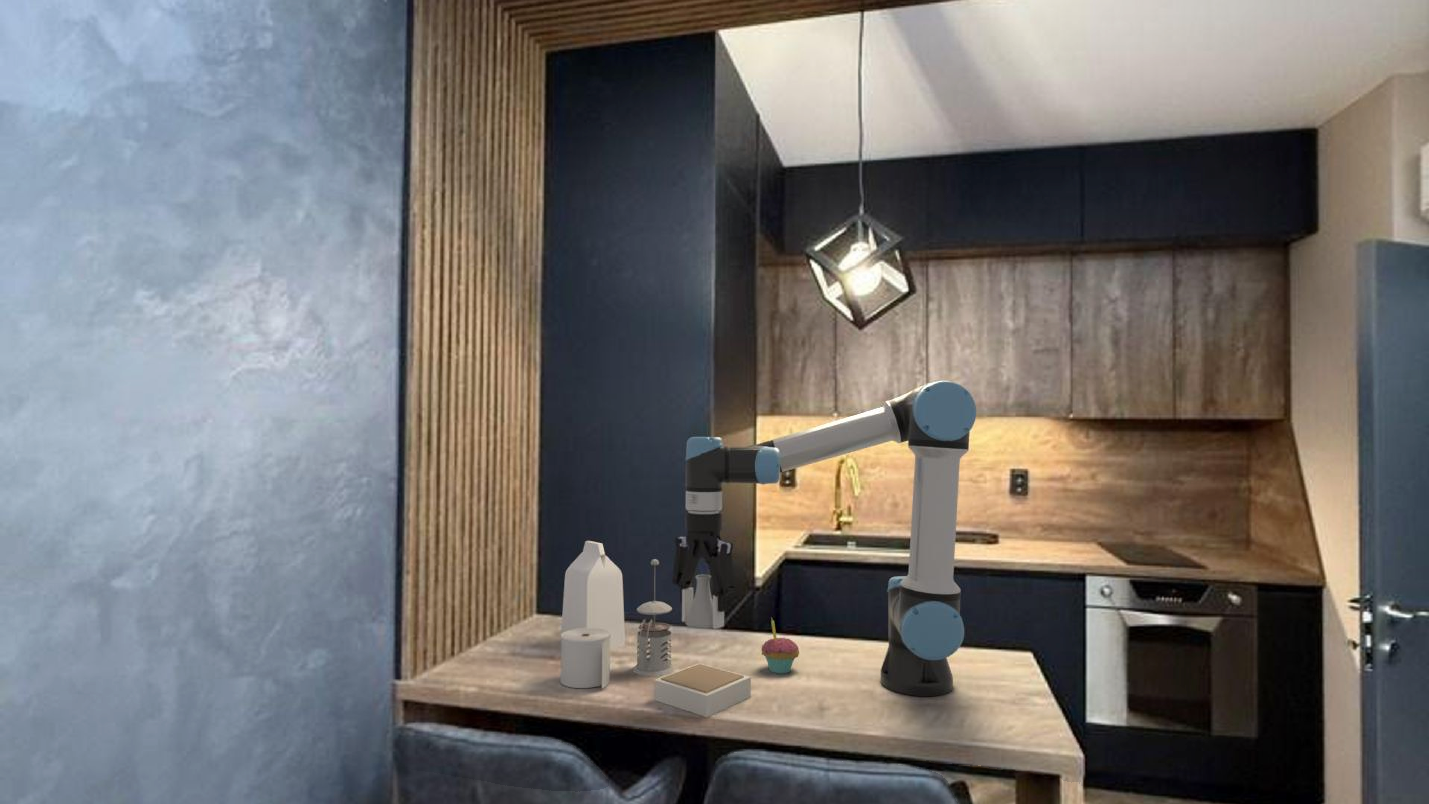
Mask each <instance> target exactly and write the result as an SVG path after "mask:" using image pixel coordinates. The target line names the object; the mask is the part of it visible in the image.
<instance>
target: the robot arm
mask: <svg viewBox="0 0 1429 804" xmlns="http://www.w3.org/2000/svg"><path fill="white" fill-rule="evenodd" d="M975 402H976V401H975V400H974V398H973V396H972V395H971V393H970V392H969V391H968V390H967V389H966V388H965V387H964V386H962V385H961V384H958V383H956V382H953V381H948V380H934V381H930V382H928V383H925V384H924V385H920V386H918V387H916V388H915V389H913V390H911V391H909V392H908V393H905V394H903V395H901V396H899V397H896V398H893V399H889V400H886V401H885V402H884V404H883V406H882V407H879V408H874V409H872V410H869V411H865V412H862V413H858V414H855V415H852V416H848V417H845V418H841V419H838V420H835V421H831V422H828V423H824V424H820V425H817V426H815V427H811V428H808V429H804V430H801V431H797V432H794V433H790V434H787V435H783V436H780V437H777V438H773V439H771V440H767V441H763V442H760V443H757V444H751V445H748V446H724V443H723V439H722V437H719V436H692V437H691V436H690V438H688V439H687V441H686V452H685V453H686V455H685V460H684V461H685V510H686V511H688V512H686V513H685V514H684V517H685V518H684V519H685V520H684V521H685V522H684V523H685V524H684V527H685V530H686V531H687V532H686V533H687V534H686V535H685V536H679V537H676V538H675V539H674V543H675V554H674V555H675V557H674V562H673V571H672V572H673V573H672V579H671V580H672V581H671V582H672V584H673V585H677V586H678V588H679V602H680V603H679V604H680V605H681V621H682V622H683V623H686V620H687V617H688V614H689V612H690V609H691V606H692V603H693V600H694V587H693V584H692V581H693V578H694V575H695V573H696V570H697V567H698V564H699V560H701V558H702V559H704V562H705V563H706V564H707V566H708V571H709V575H710V576H711V580H712V583H713V586H714V591H715V593H714V594H713V595H712V600H713V628H712V629H715V630H717V629H719V628H723V627H725V612H726V611H727V608H728V607H727V606H728V605H727V604H728V595H729V594H731V593H734V592H736V582H735V581H736V580H735V573H734V564H733V563H734V562H733V556H732V555H733V554H732V553H733V548H734V545H733V544H734V543H732V542H725V541H723V540H722V538H721V530H722V529H723V527H722V524H723V522H722V521H723V519H722V518H723V517H722V516H723V515H722V513H721V512H720V511H721V510H723V486H722V485H723V483H724V484H760V485H767V484H777V483H779V482H780V480H781V473H783V472H787V471H790V470H794V469H797V468H801V467H804V466H808V465H810V464H815V463H818V462H823V461H825V460H829V459H833V458H835V457H839V456H842V455H846V454H850V453H853V452H857V451H860V450H863V449H864V450H865V449H867V448H871V447H874V446H878V445H882V444H885V443H888V442H891V441H893V442H895V443H897V444H902V443H905V442H908V443H907V447H908V449H909V450H910V451H911V452H912V453H913V454H914V472H913V487H912V506H911V523H910V524H911V525H910V539H909V540H910V543H909V558H908V574H907V575H906V576H905V575H903V576H902V575H900V576H898V575H897V576H893V577H891V578H890V579H889V580H888V588H887V594H888V596H887V597H888V598H887V601H888V604H887V605H888V646H887V649H886V653H885V657H884V660H883V661H882V665H881V669H880V684H881V685H882V686H884V687H885V688H886V689H888V690H891V691H893V692H895V693H899V694H904V695H908V696H916V697H918V696H919V697H936V696H942V695H947V694H949V693H951V692H952V691H953V689H954V676H953V674H952V670H951V667H950V664H949V661H948V658H949V657H951V656H952V655H953V654H954V653H956V652H957V651H958V650H959V648H960V647H961V645H962V643H963V641H964V637H965V627H964V622H963V617H962V616H961V615H960V611H961V588H960V587H959V586H958V584H957V583H956V582H955V580H954V574H955V573H954V572H955V570H954V569H955V556H956V555H955V553H956V552H955V551H956V537H957V536H956V535H957V534H956V533H957V517H958V516H957V515H958V500H959V481H960V465H961V462H960V461H961V459H962V457H963V456H964V455H966V454H967V453H968V452H969V448H970V447H969V445H970V433H971V432H970V431H971V430H972V429H973V427H974V424H975V423H976V419H977V418H976V417H977V405H976V403H975Z"/></svg>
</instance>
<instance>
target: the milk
mask: <svg viewBox="0 0 1429 804" xmlns="http://www.w3.org/2000/svg"><path fill="white" fill-rule="evenodd" d="M564 573H565V574H564V585H563V586H564V588H563V599H562V600H563V601H562V614H561V615H562V616H561V617H562V618H561V630H560V631H561V632H560V635H561V634H563V632H566V631H569V630H573V629H577V628H599V629H604V630H607V631H609V632H610V651H612V650H611V649H613V650H616V649H615V648H617V649H619V648H618V647H621V648H625V647H626V639H625V638H626V634H625V633H626V631H625V609H624V583H623V582H624V581H623V572H622V570H621V569H620V568H619V566H617V564H615V563H614V562H613V561H612V560H611V559H610V558H609V556H607V555H606V552H605V549H604V545H603V543H602V542H601V543H600V542H597V541H591V540H586V541H585V542H584V546H583V550H582V552H581V553H580V554H579V555H578V556H577V557H576V558H575V560H574V561H572V562H571V563H570V565H569V566H568V568H567V569H566V570H565V572H564ZM624 646H625V647H624Z"/></svg>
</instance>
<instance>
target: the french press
mask: <svg viewBox="0 0 1429 804" xmlns="http://www.w3.org/2000/svg"><path fill="white" fill-rule="evenodd" d="M659 564H660V562H659V560H658V559H656V558H654V559H651V561H650V565H652V566H659ZM653 578H654V579H653V580H654V581H653V582H654V583H653V585H654V587H653V588H654V589H653V591H654V592H653V593H654V594H653V595H654V597H653V600H652V601H648V602H645V603H642V604H641V605H639V606H638V607H637V608H636V612H637V613H638V614H641V615H646V616H647V615H648V616H653V619H650V621H647V620H646V618H644V619H643V620H642V622H641V624H640V625H638V629H639V631H637V633H636V634H637V637H636V638H637V642H636V644H637V646H636V650H637V652H636V656H637V657H636V664H635V666H633V668H632V671H634V672H633V673H634V674H636V673H637V675H639V676H643V677H663V676H666V675H669V674H670V673H674V672H675V671H676V667H675V666H674V665H673V664H672V660H671V659H672V643H671V642H672V631H671V630H669V629H670V627H671V626H670V624H668V623H665V622H656V616H657V615H663V614H668V613H670V612H671V611H672V610H673V607H672V606H671V605H669V604H667V603H665V602H664V601H657V600H656V568H654V577H653ZM646 621H647V622H646ZM668 641H669V642H668ZM668 647H669V648H668ZM674 670H675V671H674Z"/></svg>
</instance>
